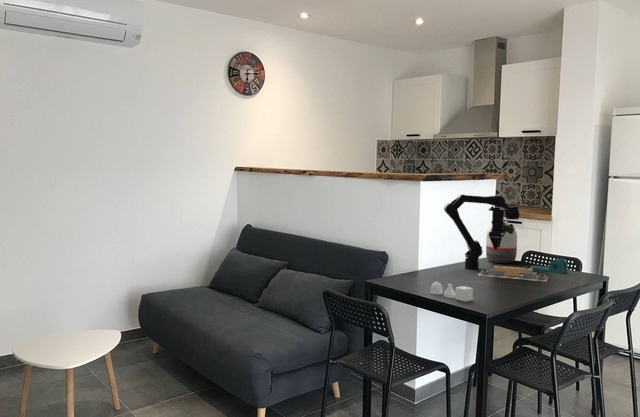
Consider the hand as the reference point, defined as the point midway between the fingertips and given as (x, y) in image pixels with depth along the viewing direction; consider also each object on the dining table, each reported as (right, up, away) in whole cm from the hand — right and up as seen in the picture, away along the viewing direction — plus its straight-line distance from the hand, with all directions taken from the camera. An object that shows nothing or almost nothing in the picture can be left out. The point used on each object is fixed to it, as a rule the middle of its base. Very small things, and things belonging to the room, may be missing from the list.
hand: (497, 248), depth 280 cm
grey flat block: (+11, -13, -22) cm, 27 cm away
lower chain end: (-7, -12, -12) cm, 19 cm away
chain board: (+2, -13, -17) cm, 22 cm away
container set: (-39, -17, -55) cm, 69 cm away
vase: (+12, -10, +29) cm, 32 cm away
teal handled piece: (+26, -13, -2) cm, 29 cm away
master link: (+2, -12, -17) cm, 21 cm away
